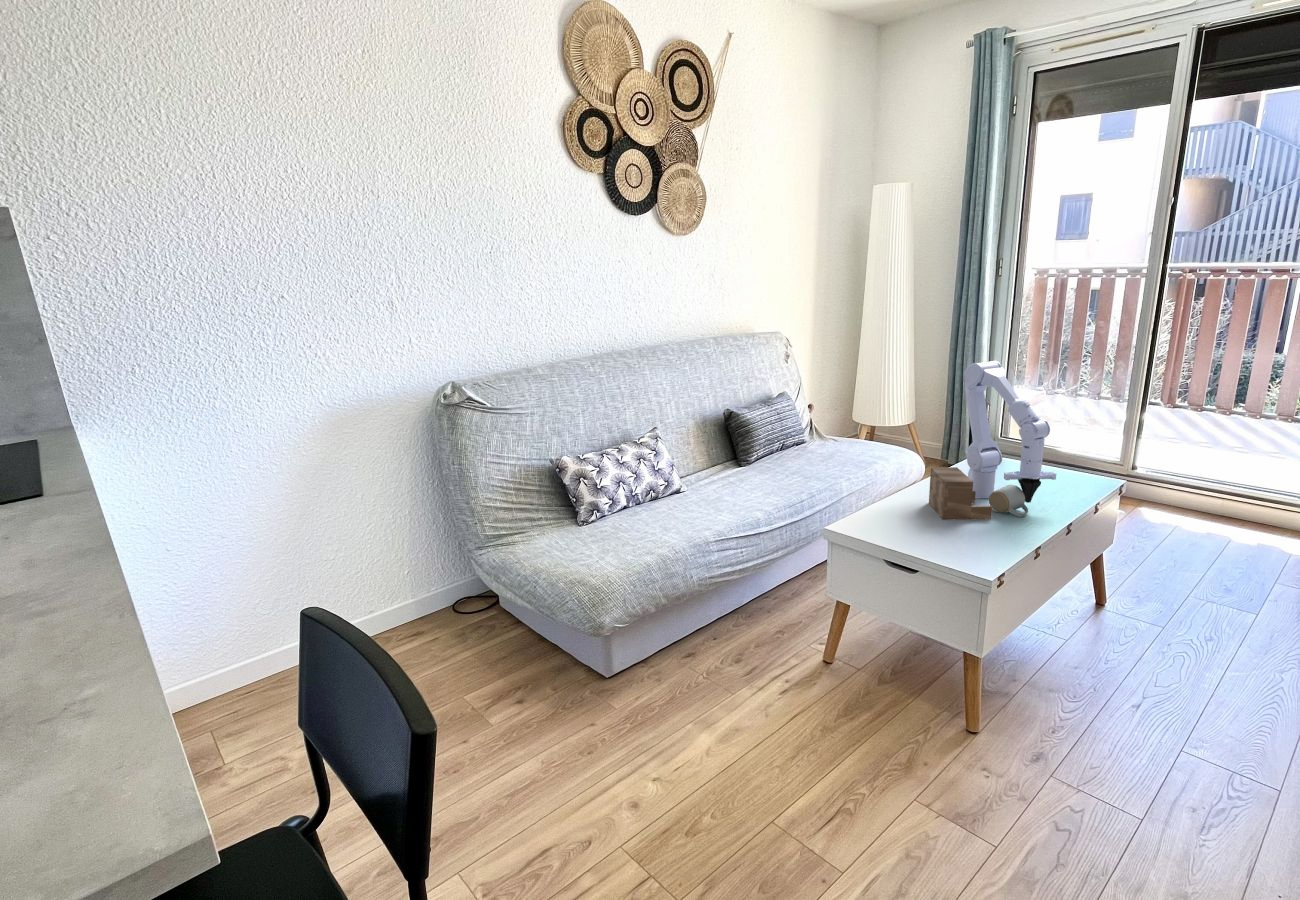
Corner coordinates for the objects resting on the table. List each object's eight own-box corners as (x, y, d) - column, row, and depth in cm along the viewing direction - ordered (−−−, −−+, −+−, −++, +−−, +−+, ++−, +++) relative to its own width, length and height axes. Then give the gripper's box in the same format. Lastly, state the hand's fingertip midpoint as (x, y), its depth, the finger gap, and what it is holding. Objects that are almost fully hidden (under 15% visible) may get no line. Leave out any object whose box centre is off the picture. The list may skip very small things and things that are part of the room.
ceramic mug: (985, 510, 218) (987, 486, 216) (1001, 504, 222) (1004, 481, 220) (1017, 520, 209) (1020, 496, 207) (1033, 514, 213) (1036, 490, 211)
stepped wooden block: (928, 503, 227) (930, 467, 224) (973, 502, 225) (976, 467, 222) (942, 519, 212) (945, 481, 209) (990, 519, 211) (994, 481, 208)
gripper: (1011, 463, 209) (1007, 506, 213) (1062, 462, 208) (1057, 505, 211) (1002, 456, 216) (998, 498, 220) (1051, 456, 215) (1047, 498, 218)
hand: (1027, 501), depth 216 cm, fingers closed
